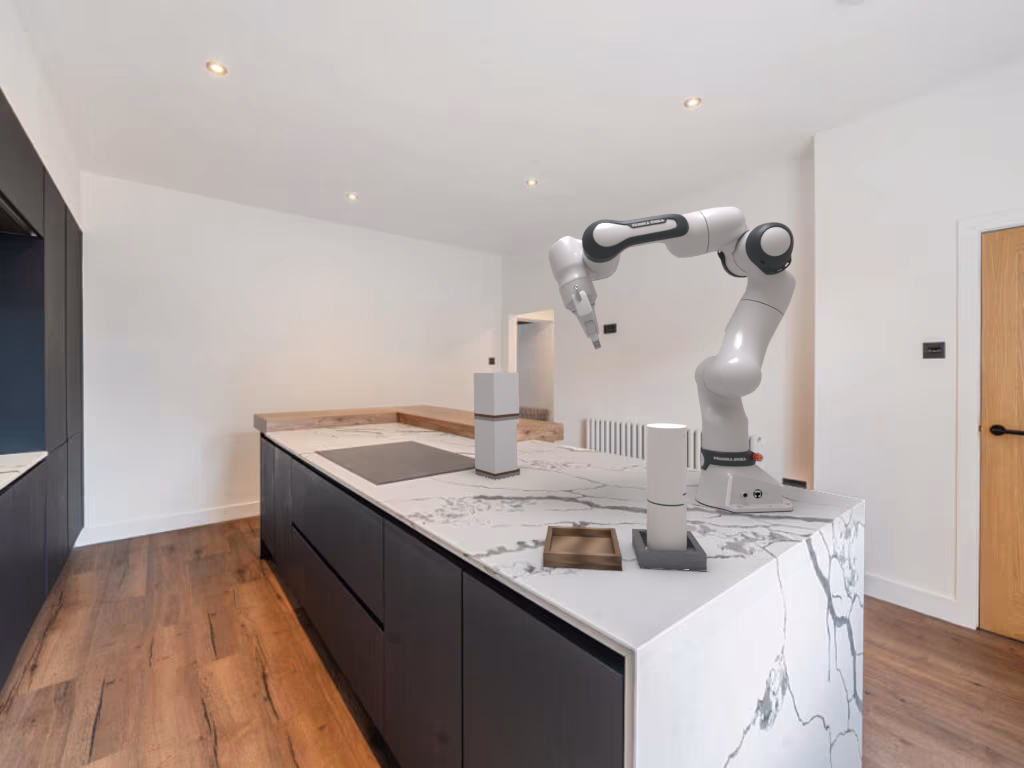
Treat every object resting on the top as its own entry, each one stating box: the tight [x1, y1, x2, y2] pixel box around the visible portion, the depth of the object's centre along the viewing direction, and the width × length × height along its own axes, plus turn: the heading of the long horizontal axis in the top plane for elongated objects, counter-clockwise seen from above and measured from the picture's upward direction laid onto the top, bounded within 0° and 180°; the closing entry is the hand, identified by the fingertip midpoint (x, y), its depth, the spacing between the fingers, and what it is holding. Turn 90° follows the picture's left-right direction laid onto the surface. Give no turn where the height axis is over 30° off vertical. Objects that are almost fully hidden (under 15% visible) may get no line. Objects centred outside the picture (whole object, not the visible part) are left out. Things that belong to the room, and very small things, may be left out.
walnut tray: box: [542, 525, 623, 571], centre depth 87 cm, size 14×14×2 cm
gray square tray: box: [631, 528, 708, 571], centre depth 84 cm, size 11×11×3 cm
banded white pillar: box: [473, 371, 521, 481], centre depth 151 cm, size 11×11×35 cm
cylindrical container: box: [646, 422, 688, 551], centre depth 84 cm, size 7×7×25 cm
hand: (596, 344), depth 113 cm, fingers open, 8 cm apart
